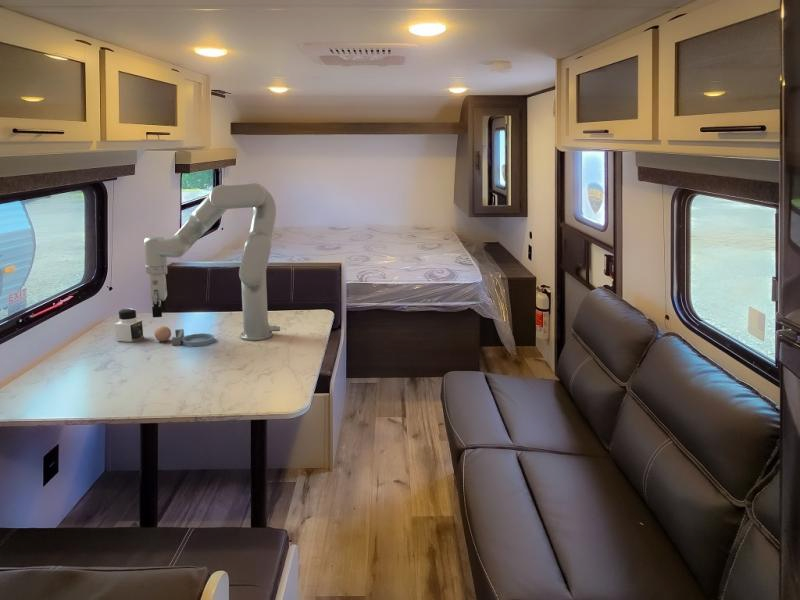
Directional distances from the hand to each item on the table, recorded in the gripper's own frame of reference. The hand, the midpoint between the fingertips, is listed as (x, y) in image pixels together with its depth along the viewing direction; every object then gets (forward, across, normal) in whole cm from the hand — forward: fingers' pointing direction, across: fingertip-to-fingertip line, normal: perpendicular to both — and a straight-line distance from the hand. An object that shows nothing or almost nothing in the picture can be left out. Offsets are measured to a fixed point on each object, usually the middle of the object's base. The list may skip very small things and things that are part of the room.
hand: (159, 313), depth 224 cm
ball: (+11, 0, -1) cm, 11 cm away
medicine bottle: (+12, +6, +12) cm, 18 cm away
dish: (+10, -4, -14) cm, 18 cm away
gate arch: (+11, -1, -8) cm, 13 cm away
